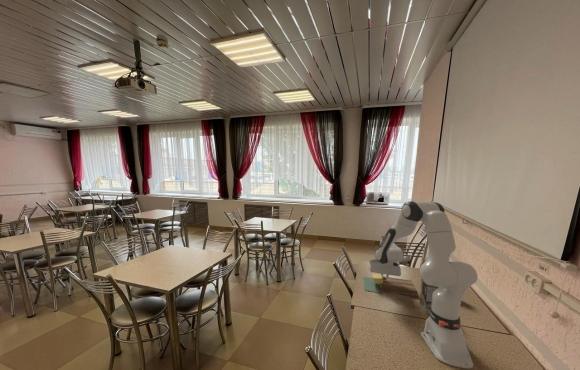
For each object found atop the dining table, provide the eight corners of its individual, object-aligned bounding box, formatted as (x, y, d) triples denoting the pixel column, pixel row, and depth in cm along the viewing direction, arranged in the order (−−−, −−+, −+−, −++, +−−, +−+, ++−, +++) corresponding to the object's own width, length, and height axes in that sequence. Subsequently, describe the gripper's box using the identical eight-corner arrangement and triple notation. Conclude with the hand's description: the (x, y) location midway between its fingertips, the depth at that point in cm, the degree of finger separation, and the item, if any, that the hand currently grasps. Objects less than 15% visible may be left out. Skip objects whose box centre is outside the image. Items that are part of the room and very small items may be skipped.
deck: (416, 296, 143) (417, 291, 142) (380, 290, 149) (380, 285, 148) (411, 286, 156) (411, 280, 156) (378, 280, 162) (378, 275, 162)
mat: (380, 293, 146) (380, 292, 146) (364, 290, 149) (364, 290, 149) (377, 278, 165) (377, 278, 165) (363, 276, 168) (363, 276, 168)
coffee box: (437, 314, 125) (439, 288, 124) (425, 313, 126) (427, 286, 125) (430, 305, 134) (432, 280, 133) (419, 303, 135) (420, 278, 134)
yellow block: (383, 283, 151) (382, 280, 150) (373, 282, 152) (373, 279, 152) (381, 277, 159) (381, 274, 159) (372, 276, 161) (372, 274, 161)
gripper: (370, 260, 153) (369, 279, 154) (402, 264, 147) (400, 284, 148) (369, 256, 159) (368, 275, 160) (400, 261, 153) (399, 279, 154)
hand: (384, 279), depth 154 cm, fingers closed
